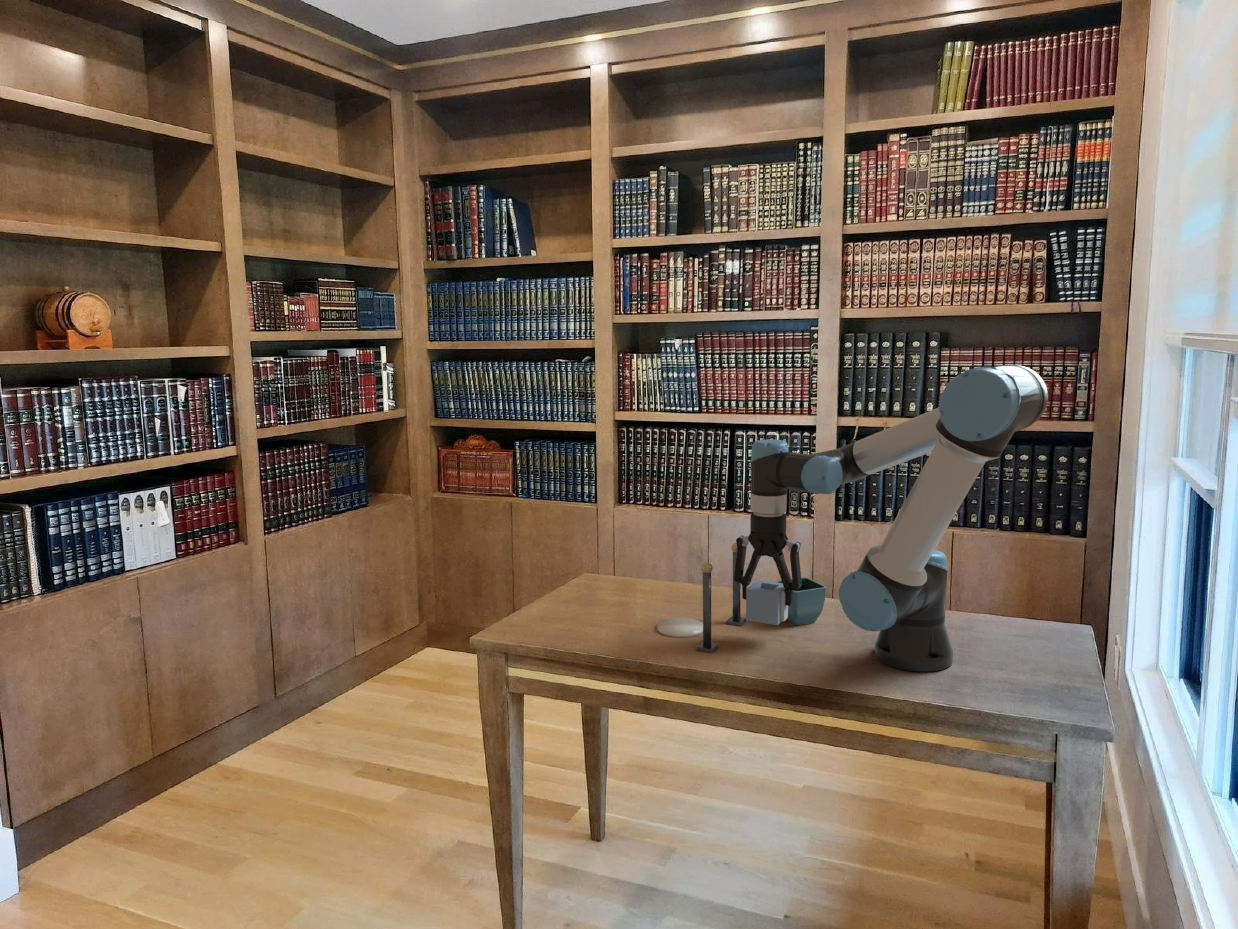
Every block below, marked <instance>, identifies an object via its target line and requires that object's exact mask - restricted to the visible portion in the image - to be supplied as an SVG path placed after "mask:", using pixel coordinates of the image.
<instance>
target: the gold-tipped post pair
mask: <svg viewBox="0 0 1238 929" xmlns="http://www.w3.org/2000/svg"><path fill="white" fill-rule="evenodd" d="M730 550H731V551H732V615H731V616H730V617H729V618H727V619H726V625H731V626H736V627H737V626H738V627H742V626H743V625H745V623H747V621H748V620H746V617H742V616H741V606H742V605H741V601H742V600H741V596H742V595H741V594H742V593H741V591H742V588H741V587H742V584H741V583H739V582H735V581H734V574H735V566H736V558H737V550H738V548H737V543H736V542H734V543H732V545H731V549H730ZM713 569H714V568H713V565H712V563H710V562H705V561H704V562H703V563H702V564H701V567H700V570H701V571H702V622H703V633H702V641H701V642H700V643H698V645H697V646H695V649H696V650H695V651H698V652H704V653H710V654H712V653H714V651H716V650H717V649H718V648H719V643H717V642H716V643H715V642H712V571H713Z"/></svg>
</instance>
